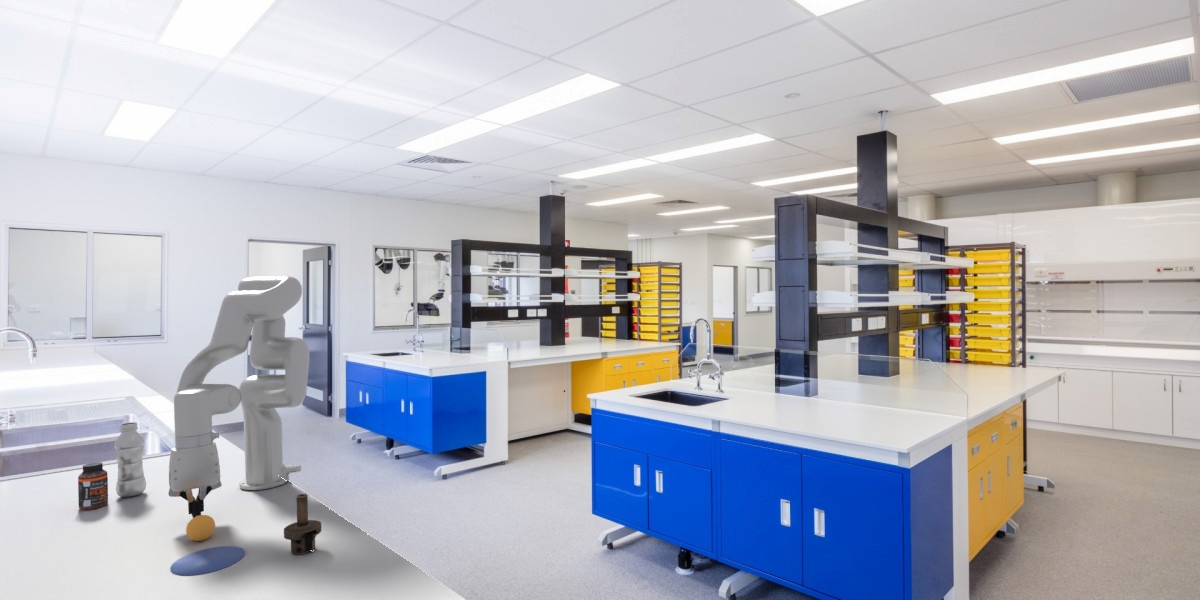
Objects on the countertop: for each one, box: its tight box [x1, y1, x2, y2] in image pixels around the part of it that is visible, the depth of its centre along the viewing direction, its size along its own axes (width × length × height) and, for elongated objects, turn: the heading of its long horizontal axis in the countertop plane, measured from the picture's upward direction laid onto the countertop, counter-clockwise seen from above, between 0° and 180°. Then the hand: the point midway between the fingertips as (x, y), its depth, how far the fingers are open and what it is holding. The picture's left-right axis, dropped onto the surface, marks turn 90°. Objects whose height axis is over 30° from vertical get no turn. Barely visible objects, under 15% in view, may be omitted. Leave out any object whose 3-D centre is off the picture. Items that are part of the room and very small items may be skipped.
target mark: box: [169, 545, 246, 576], centre depth 126 cm, size 13×13×1 cm
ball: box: [185, 514, 216, 542], centre depth 136 cm, size 6×6×6 cm
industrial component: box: [283, 493, 322, 555], centre depth 130 cm, size 9×7×12 cm
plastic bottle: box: [114, 421, 147, 498], centre depth 166 cm, size 6×7×20 cm
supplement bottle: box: [77, 461, 109, 511], centre depth 158 cm, size 6×6×11 cm
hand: (196, 515), depth 147 cm, fingers closed
